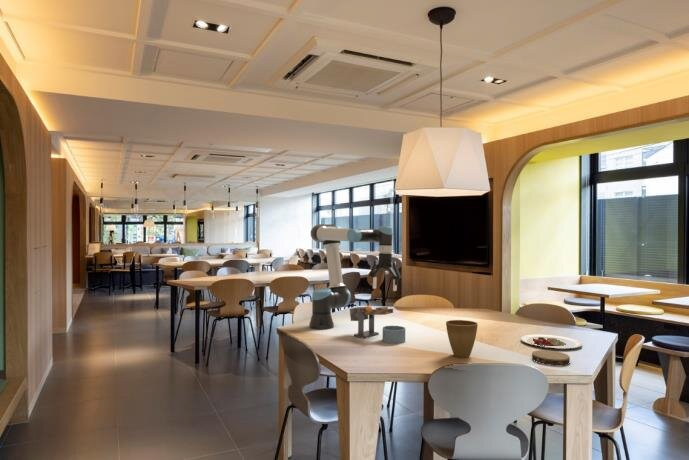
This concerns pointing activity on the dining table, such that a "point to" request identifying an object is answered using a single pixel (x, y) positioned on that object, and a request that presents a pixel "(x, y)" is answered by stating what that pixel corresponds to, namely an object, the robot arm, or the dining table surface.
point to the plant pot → (461, 336)
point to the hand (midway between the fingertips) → (384, 289)
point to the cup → (394, 334)
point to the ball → (368, 308)
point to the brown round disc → (550, 357)
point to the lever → (368, 312)
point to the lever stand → (361, 331)
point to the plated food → (550, 341)
